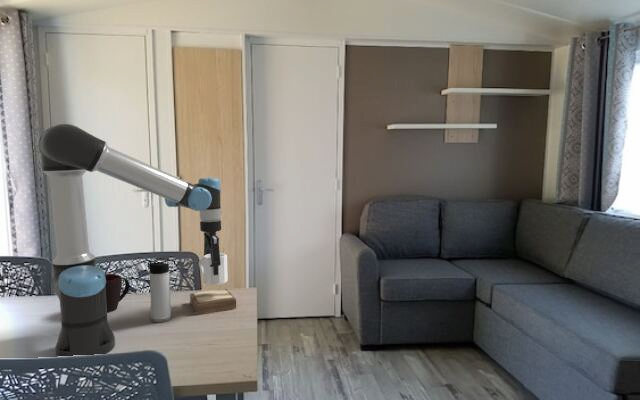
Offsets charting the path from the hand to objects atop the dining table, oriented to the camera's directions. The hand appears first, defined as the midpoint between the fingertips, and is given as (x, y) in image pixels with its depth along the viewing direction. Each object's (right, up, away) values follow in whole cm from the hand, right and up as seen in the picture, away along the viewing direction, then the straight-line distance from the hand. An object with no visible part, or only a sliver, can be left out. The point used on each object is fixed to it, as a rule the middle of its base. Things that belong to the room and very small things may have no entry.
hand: (212, 279), depth 162 cm
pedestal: (0, -10, +1) cm, 10 cm away
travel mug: (-15, -12, -13) cm, 22 cm away
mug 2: (0, -1, +1) cm, 1 cm away
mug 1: (-36, -10, -2) cm, 38 cm away
